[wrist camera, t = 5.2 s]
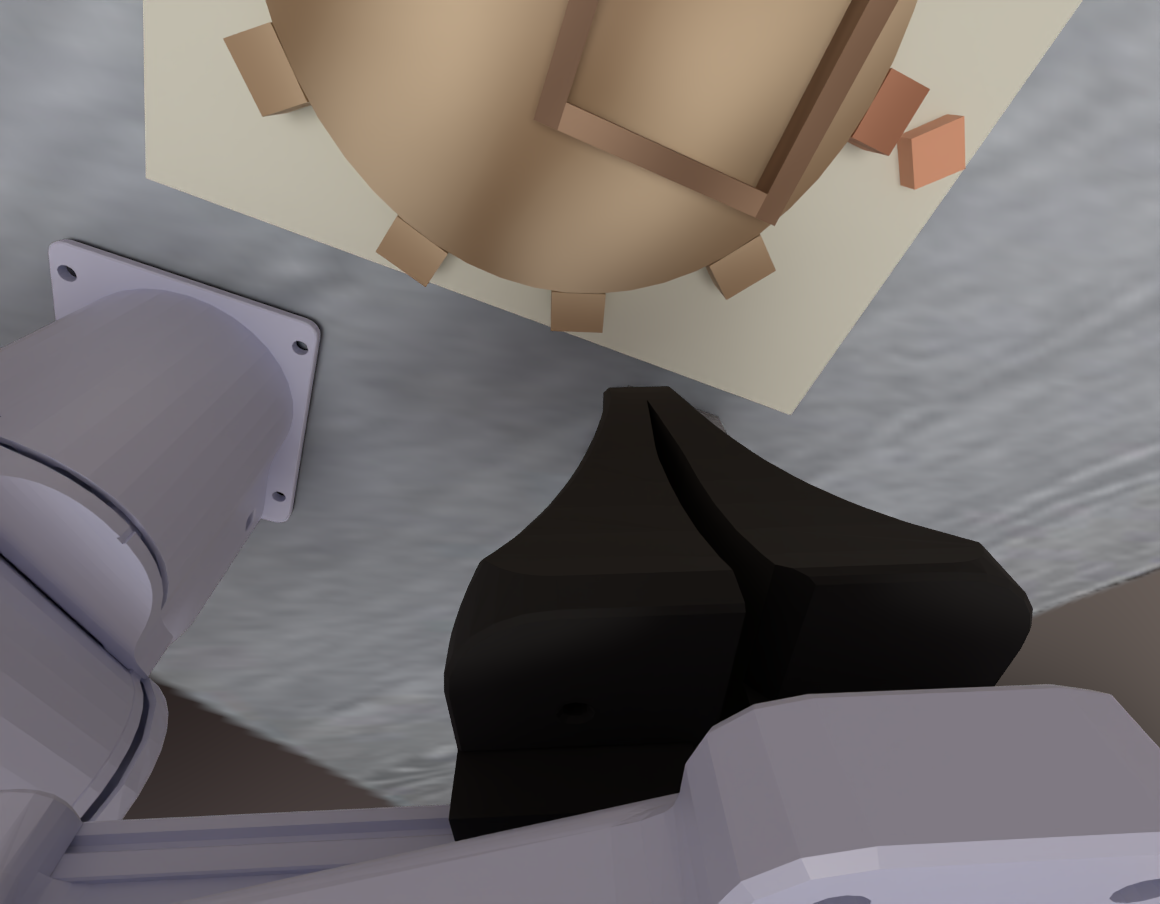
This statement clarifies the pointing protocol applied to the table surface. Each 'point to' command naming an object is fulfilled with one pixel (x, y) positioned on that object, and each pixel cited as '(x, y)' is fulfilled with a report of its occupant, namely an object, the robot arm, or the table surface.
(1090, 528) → the table surface
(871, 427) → the table surface
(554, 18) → the sprocket disc
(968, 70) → the index plate
